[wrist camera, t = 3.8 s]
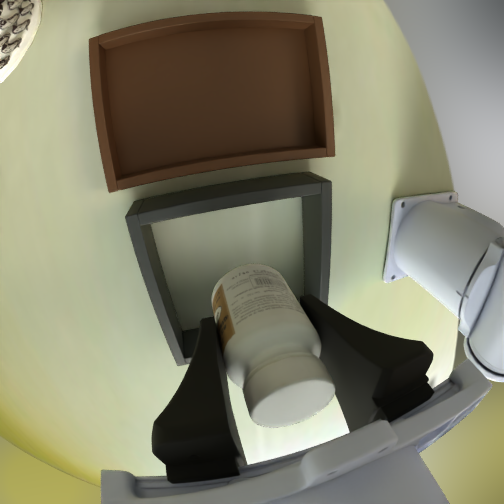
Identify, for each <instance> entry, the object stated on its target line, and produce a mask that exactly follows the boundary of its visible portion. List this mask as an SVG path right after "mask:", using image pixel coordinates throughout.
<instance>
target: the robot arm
mask: <svg viewBox="0 0 504 504" xmlns="http://www.w3.org/2000/svg"><path fill="white" fill-rule="evenodd" d="M402 202H403V203H402ZM401 204H402V205H401ZM407 276H410V277H411V278H412V279H413V280H414V281H416V282H417V283H418V284H419V285H421V286H422V287H423V288H424V289H425V290H426V291H428V292H429V293H430V294H431V295H432V296H434V297H435V298H436V299H437V300H438V301H439V302H441V303H442V304H443V305H444V306H445V307H446V308H447V309H448V310H450V311H451V312H452V313H453V314H454V315H455V316H456V317H457V318H458V319H460V320H461V322H460V325H459V328H458V330H459V331H461V332H462V334H464V335H465V340H464V349H465V353H466V356H467V358H468V359H466V360H465V361H464V362H462V363H461V364H459V365H458V366H457V367H456V368H455V369H454V370H453V371H452V373H451V374H450V376H449V378H448V379H446V380H445V381H444V382H442V383H441V384H439V385H438V386H436V387H435V388H433V389H432V388H431V386H430V385H429V384H428V383H427V382H428V380H429V378H428V377H427V376H426V375H425V374H426V372H427V371H428V369H429V367H430V365H431V363H432V360H433V352H432V351H431V350H430V349H429V348H428V347H427V346H426V345H425V343H423V342H422V341H416V340H409V339H403V338H399V337H395V336H391V335H387V334H384V333H381V332H378V331H375V330H373V329H370V328H368V327H366V326H363V325H361V324H359V323H357V322H355V321H353V320H351V319H349V318H347V317H346V316H344V315H342V314H341V313H339V312H337V311H336V310H334V309H332V308H331V307H329V306H328V305H326V304H325V303H323V302H322V301H320V300H319V299H318V298H316V297H315V296H313V295H312V294H308V295H304V296H300V305H301V307H302V309H303V310H304V312H305V313H306V315H307V317H308V318H309V320H310V322H311V323H312V325H313V326H314V328H315V329H316V331H317V333H318V335H319V337H320V341H321V353H320V356H319V359H320V360H321V361H322V363H323V364H324V365H325V367H326V369H327V371H328V373H329V375H330V376H331V378H332V380H333V382H334V384H335V395H336V397H337V399H338V402H339V404H340V407H341V409H342V412H343V414H344V417H345V420H346V423H347V425H348V428H349V431H350V433H348V434H346V435H343V436H341V437H338V438H336V439H333V440H331V441H328V442H325V443H323V444H320V445H317V446H314V447H311V448H308V449H305V450H302V451H299V452H296V453H292V454H289V455H286V456H282V457H279V458H275V459H271V460H267V461H263V462H259V463H255V464H250V465H247V462H246V458H245V455H244V451H243V448H242V444H241V441H240V437H239V434H238V430H237V426H236V422H235V419H234V415H233V411H232V407H231V402H230V396H229V389H228V381H227V374H226V369H225V366H224V362H223V357H222V352H221V348H220V341H219V336H218V331H217V326H216V322H215V318H214V316H213V317H208V318H203V319H201V321H200V329H199V335H198V339H197V343H196V347H195V350H194V353H193V356H192V359H191V362H190V365H189V367H188V370H187V372H186V374H185V376H184V378H183V380H182V382H181V384H180V386H179V388H178V390H177V391H176V393H175V395H174V396H173V398H172V399H171V401H170V402H169V404H168V405H167V406H166V408H165V409H164V410H163V412H162V413H161V414H160V415H159V416H158V418H157V419H156V420H155V421H154V424H153V430H152V452H153V454H154V455H155V456H156V457H157V458H158V459H159V460H161V461H162V462H163V463H164V464H165V465H166V473H167V476H145V477H135V476H134V475H133V474H131V473H130V472H127V471H120V470H101V504H450V503H449V502H448V500H447V498H446V497H445V495H444V493H443V492H442V490H441V488H440V487H439V485H438V484H437V482H436V480H435V479H434V477H433V475H432V474H431V473H430V471H429V469H428V467H427V466H426V464H425V463H424V461H423V459H422V458H421V456H420V455H419V453H420V452H422V451H423V450H424V449H426V448H427V447H429V446H430V445H431V444H433V443H434V442H435V441H437V440H438V439H439V438H440V437H442V436H443V435H444V434H446V433H447V432H448V431H449V430H451V429H452V428H453V427H454V426H455V425H457V424H458V423H459V422H460V421H461V420H463V419H464V417H466V416H467V415H468V414H469V413H471V412H472V411H473V410H474V409H475V407H476V406H477V405H478V404H479V403H480V401H481V400H482V399H483V398H484V397H485V395H486V394H487V393H488V391H489V390H490V389H491V387H492V384H491V383H490V382H489V380H488V379H490V380H493V381H496V382H504V228H503V226H501V225H500V224H499V223H498V222H496V221H494V220H492V219H490V218H489V217H487V216H485V215H482V214H481V213H479V212H477V211H475V210H473V209H471V208H468V207H466V206H464V205H462V204H460V203H458V193H457V192H455V191H452V192H443V193H435V194H426V195H418V196H410V197H403V198H396V199H395V200H394V201H393V204H392V214H391V224H390V233H389V241H388V249H387V256H386V263H385V269H384V275H383V281H384V282H386V283H389V282H392V281H395V280H398V279H401V278H404V277H407Z"/></svg>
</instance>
